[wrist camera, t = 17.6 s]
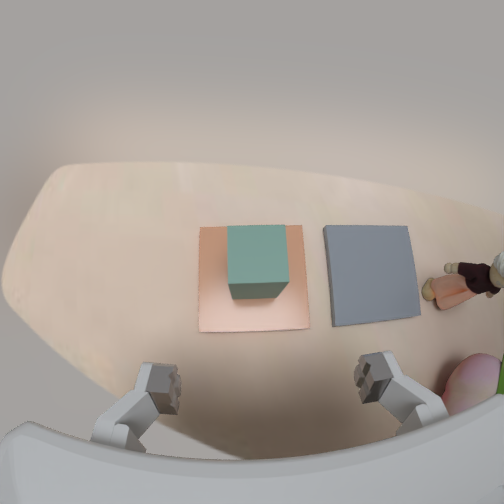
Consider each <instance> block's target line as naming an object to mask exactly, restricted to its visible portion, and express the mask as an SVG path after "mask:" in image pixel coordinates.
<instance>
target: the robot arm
mask: <svg viewBox="0 0 504 504" xmlns="http://www.w3.org/2000/svg"><path fill="white" fill-rule="evenodd" d="M358 361H359V365H357V366H356V368H355V371H354V380H355V384H356V386H358V387H359V388H360V391H359V395H360V398H361V401H362V404H365V403H370V402H376V401H378V402H379V403H380V404H381V405H382V406H384V407H385V408H386V409H387V410H388V411H389V412H390V413H391V414H392V415H393V416H395V417H396V418H397V419H398V420H399V421H400V422H401V423H402V425H401V426H400V427H399V429H398V430H397V431H396V435H397V436H395V437H391V438H388V439H384V440H381V441H377V442H373V443H369V444H365V445H361V446H356V447H352V448H347V449H342V450H336V451H331V452H325V453H319V454H312V455H304V456H295V457H285V458H273V459H253V460H214V459H194V458H182V457H172V456H164V455H156V454H149V453H146V449H145V447H144V446H143V445H142V444H141V443H140V441H139V440H138V439H139V438H140V436H141V435H142V434H143V433H144V432H145V431H146V430H147V429H148V427H149V426H150V425H151V424H152V423H153V422H154V421H155V420H156V418H157V417H158V416H159V415H160V414H172V415H178V409H179V400H178V397H179V396H180V395H181V378H180V375H178V374H177V372H178V368H177V366H176V365H173V364H161V363H150V362H143V363H142V364H141V367H140V370H139V374H138V377H137V380H136V384H135V387H134V390H130V391H129V392H128V393H127V394H126V395H124V396H123V397H122V398H121V399H120V400H118V401H117V402H116V403H115V404H114V405H113V406H111V407H110V408H109V409H108V410H107V411H105V412H104V413H103V414H102V415H101V416H99V417H98V418H97V421H96V424H95V427H94V430H93V433H92V437H91V440H90V441H88V440H84V439H81V438H78V437H74V436H71V435H68V434H65V433H62V432H59V431H56V430H53V429H51V428H48V427H45V426H43V425H40V424H38V423H35V422H32V421H27V422H24V423H22V424H21V425H19V426H17V427H16V428H14V429H13V430H11V431H10V432H8V433H7V434H6V435H5V437H4V438H3V439H2V441H1V443H0V504H504V395H502V394H495V395H493V396H491V397H489V398H487V399H486V400H484V401H482V402H480V403H478V404H476V405H474V406H472V407H470V408H468V409H466V410H463V411H461V412H459V413H457V414H455V415H452V416H449V414H448V412H447V410H446V407H445V405H444V403H443V401H442V399H441V397H439V396H438V395H436V394H435V393H433V392H432V391H430V390H428V389H427V388H425V387H424V386H422V385H421V384H419V383H418V382H416V381H415V380H413V379H412V378H410V377H409V376H407V375H403V373H402V371H401V369H400V367H399V365H398V363H397V361H396V359H395V357H394V355H393V353H392V352H391V351H385V352H378V353H372V354H366V355H361V356H360V357H359V360H358Z"/></svg>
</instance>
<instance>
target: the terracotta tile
mask: <svg viewBox="0 0 504 504" xmlns="http://www.w3.org/2000/svg"><path fill="white" fill-rule="evenodd" d="M285 228H286V240H287V253H288V266H289V280H290V282H289V283H288V284H287V286H286V287H285V288H284V289H283V291H282V292H281V293H280V294H279V296H278V297H277V298H262V299H232V296H231V293H230V289H229V286H228V257H227V227H200V242H199V332H253V331H277V330H295V329H308V328H310V322H309V305H308V290H307V277H306V265H305V253H304V242H303V232H302V225H290V226H285Z"/></svg>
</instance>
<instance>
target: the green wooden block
mask: <svg viewBox="0 0 504 504" xmlns="http://www.w3.org/2000/svg"><path fill="white" fill-rule="evenodd" d="M227 257H228V286H229V289H230V293H231V296H232V299H262V298H277V297H278V296H279V294H280V293H281V292H282V291H283V289H284V288H285V287H286V286H287V284H288V283H289V282H290V280H289V266H288V253H287V240H286V228H285V225H247V226H227Z"/></svg>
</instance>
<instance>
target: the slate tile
mask: <svg viewBox="0 0 504 504" xmlns="http://www.w3.org/2000/svg"><path fill="white" fill-rule="evenodd" d="M323 231H324V239H325V247H326V256H327V266H328V276H329V287H330V299H331V312H332V327H333V326H344V325H353V324H362V323H371V322H379V321H386V320H394V319H401V318H407V317H414V316H419V315H421V311H420V301H419V292H418V285H417V277H416V271H415V264H414V258H413V253H412V247H411V242H410V237H409V232H408V228H407V226H374V225H326V226H325V227H324V229H323Z"/></svg>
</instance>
